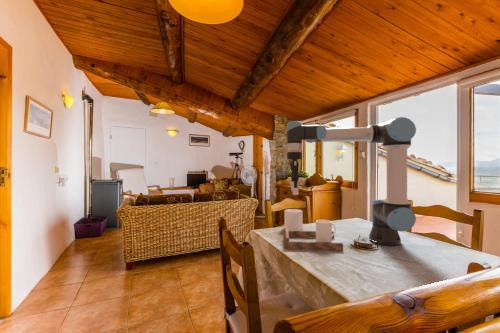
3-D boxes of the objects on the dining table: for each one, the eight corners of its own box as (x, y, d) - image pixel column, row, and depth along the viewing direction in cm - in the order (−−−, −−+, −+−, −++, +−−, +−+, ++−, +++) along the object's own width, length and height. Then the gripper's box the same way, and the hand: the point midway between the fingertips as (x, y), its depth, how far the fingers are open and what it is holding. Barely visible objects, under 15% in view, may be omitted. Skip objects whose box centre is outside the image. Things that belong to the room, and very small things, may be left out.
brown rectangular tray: (333, 237, 138) (333, 228, 138) (343, 250, 117) (343, 240, 117) (284, 235, 141) (284, 227, 141) (285, 248, 120) (285, 238, 120)
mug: (331, 239, 134) (331, 218, 133) (340, 244, 125) (340, 222, 125) (312, 241, 131) (312, 219, 131) (320, 246, 123) (320, 223, 122)
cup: (284, 230, 152) (284, 212, 152) (284, 226, 164) (284, 208, 163) (303, 231, 150) (303, 212, 150) (302, 226, 162) (302, 209, 162)
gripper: (286, 152, 135) (286, 190, 135) (287, 150, 110) (288, 196, 111) (299, 152, 134) (300, 190, 134) (304, 150, 109) (304, 196, 110)
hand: (294, 192), depth 123 cm, fingers open, 13 cm apart
